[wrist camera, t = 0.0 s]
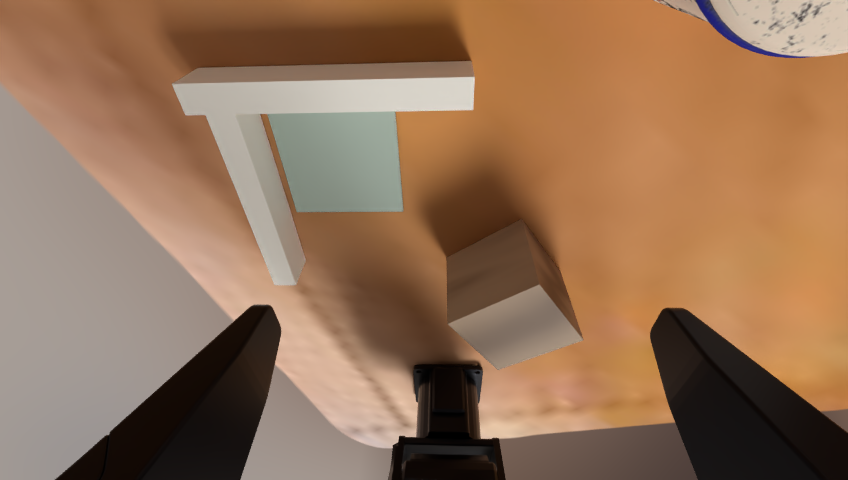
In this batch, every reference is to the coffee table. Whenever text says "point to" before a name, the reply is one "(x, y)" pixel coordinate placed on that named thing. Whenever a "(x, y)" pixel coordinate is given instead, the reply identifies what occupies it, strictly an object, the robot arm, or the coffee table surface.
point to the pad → (340, 160)
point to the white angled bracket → (303, 93)
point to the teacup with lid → (776, 24)
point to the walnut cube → (509, 298)
